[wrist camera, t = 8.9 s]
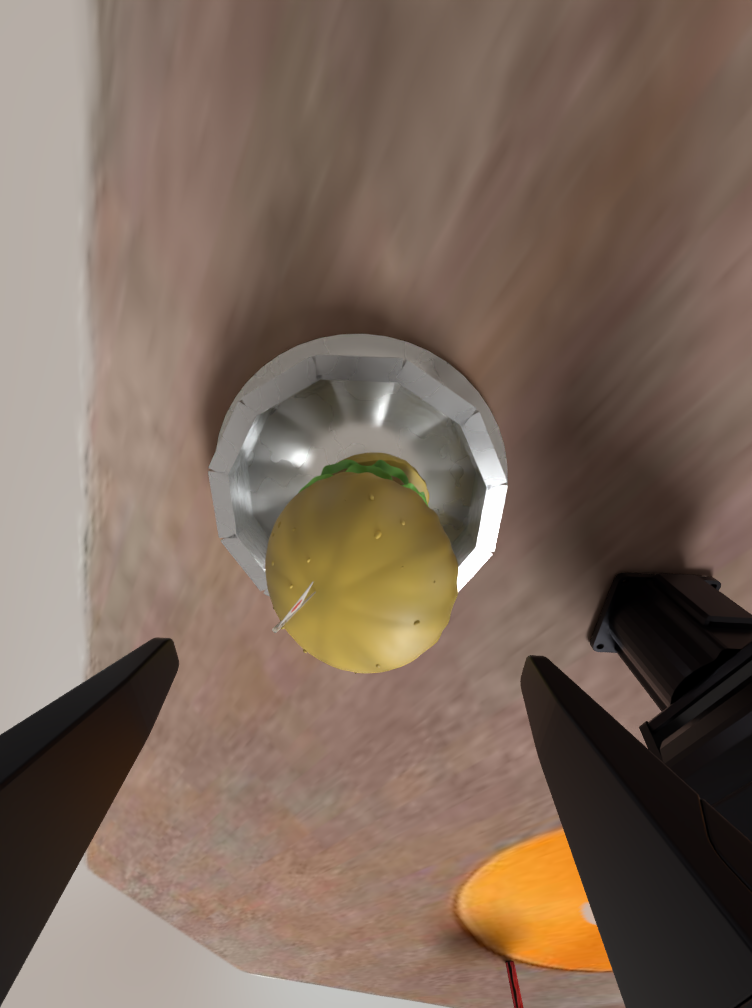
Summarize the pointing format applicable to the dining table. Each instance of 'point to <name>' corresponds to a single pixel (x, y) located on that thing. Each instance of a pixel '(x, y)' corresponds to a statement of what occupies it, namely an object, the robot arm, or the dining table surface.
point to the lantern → (514, 985)
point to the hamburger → (362, 566)
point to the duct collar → (357, 441)
